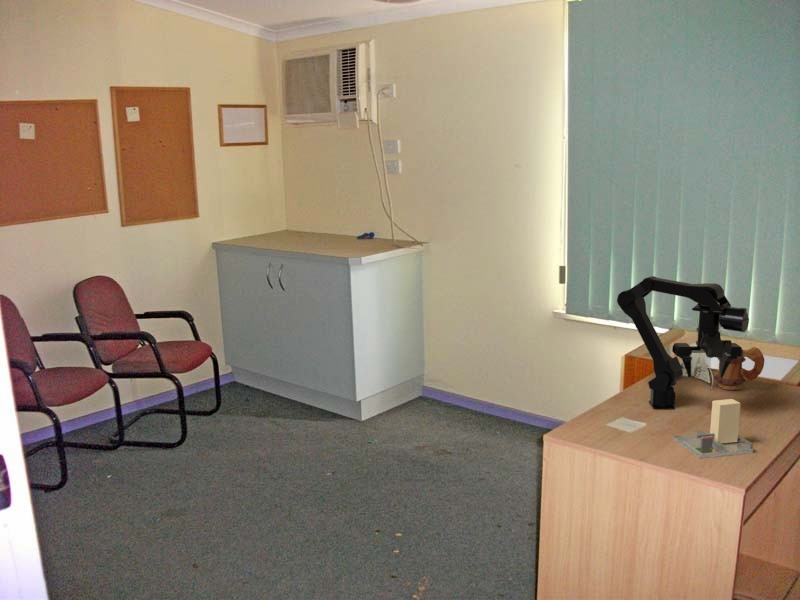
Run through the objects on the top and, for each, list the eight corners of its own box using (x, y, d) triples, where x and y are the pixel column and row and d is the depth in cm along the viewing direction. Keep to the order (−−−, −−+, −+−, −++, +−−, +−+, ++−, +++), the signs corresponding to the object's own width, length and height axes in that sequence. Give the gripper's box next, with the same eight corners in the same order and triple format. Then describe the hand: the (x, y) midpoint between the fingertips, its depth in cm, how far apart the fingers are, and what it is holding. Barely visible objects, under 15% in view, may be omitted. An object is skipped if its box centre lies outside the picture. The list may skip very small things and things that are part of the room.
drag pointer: (700, 448, 197) (701, 436, 196) (710, 447, 197) (711, 435, 197) (701, 449, 196) (702, 437, 196) (712, 447, 197) (713, 436, 196)
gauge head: (691, 439, 203) (694, 401, 201) (728, 436, 205) (730, 398, 203) (700, 445, 199) (703, 406, 197) (737, 441, 201) (740, 403, 199)
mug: (711, 389, 248) (714, 345, 245) (716, 382, 254) (719, 340, 251) (759, 397, 239) (762, 352, 236) (763, 390, 246) (767, 346, 243)
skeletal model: (661, 384, 254) (673, 324, 266) (664, 398, 260) (675, 338, 273) (711, 390, 246) (721, 328, 258) (713, 404, 252) (722, 343, 265)
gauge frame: (672, 439, 207) (673, 431, 207) (722, 434, 210) (723, 426, 210) (700, 458, 195) (700, 449, 194) (752, 452, 198) (753, 443, 197)
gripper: (684, 333, 212) (681, 386, 215) (752, 333, 210) (747, 386, 214) (673, 324, 223) (670, 374, 226) (737, 324, 221) (733, 374, 225)
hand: (705, 377), depth 222 cm, fingers open, 9 cm apart
